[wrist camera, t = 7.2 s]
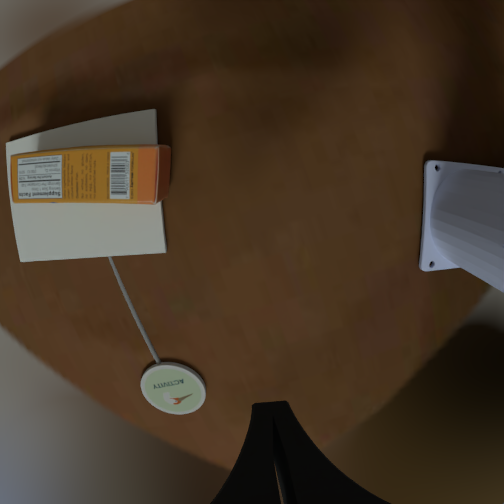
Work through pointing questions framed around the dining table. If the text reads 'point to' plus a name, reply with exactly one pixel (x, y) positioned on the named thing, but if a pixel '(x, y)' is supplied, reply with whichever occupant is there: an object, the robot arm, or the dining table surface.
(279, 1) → the dining table surface
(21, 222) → the mat
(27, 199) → the supplement box
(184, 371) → the sign
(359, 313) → the dining table surface
